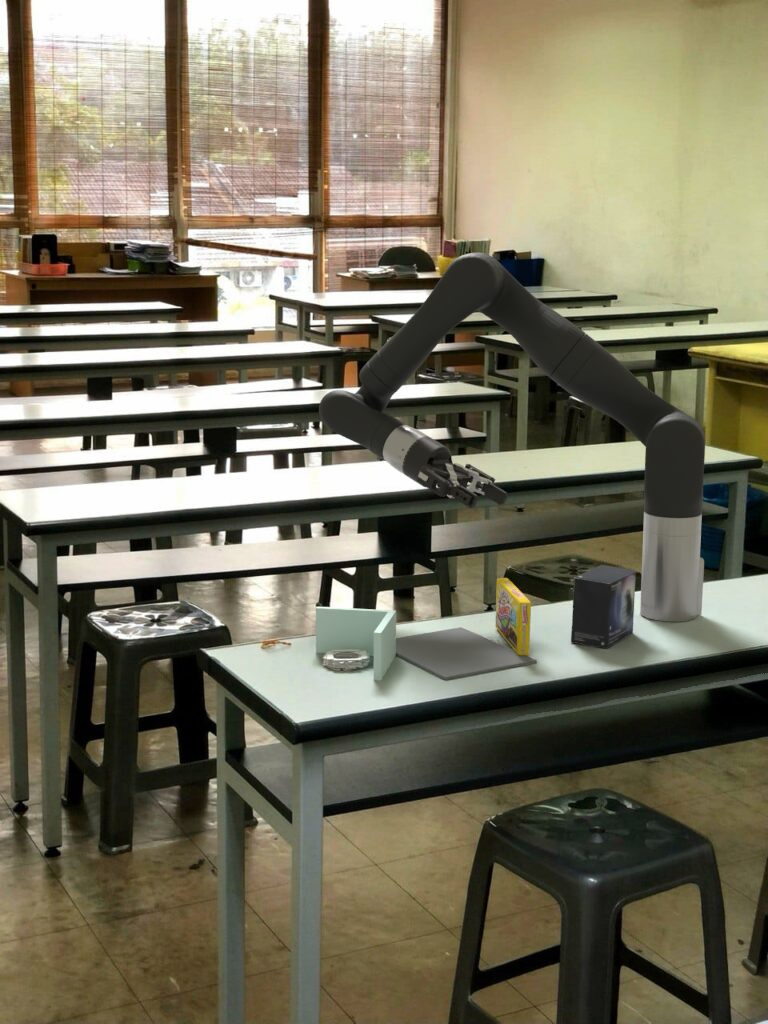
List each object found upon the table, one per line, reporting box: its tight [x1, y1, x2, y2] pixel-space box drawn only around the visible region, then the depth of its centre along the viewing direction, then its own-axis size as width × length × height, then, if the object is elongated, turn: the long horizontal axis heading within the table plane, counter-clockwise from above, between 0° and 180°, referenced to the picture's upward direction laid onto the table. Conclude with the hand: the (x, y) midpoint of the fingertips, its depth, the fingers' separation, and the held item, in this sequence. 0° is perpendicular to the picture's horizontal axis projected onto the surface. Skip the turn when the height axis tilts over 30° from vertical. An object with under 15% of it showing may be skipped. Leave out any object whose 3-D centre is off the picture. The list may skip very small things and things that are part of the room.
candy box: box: [495, 577, 532, 656], centre depth 203 cm, size 16×2×8 cm, turn 7°
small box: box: [570, 564, 637, 649], centre depth 206 cm, size 11×6×10 cm, turn 147°
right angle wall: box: [315, 606, 397, 681], centre depth 192 cm, size 12×12×8 cm
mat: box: [395, 627, 538, 681], centre depth 199 cm, size 16×20×1 cm
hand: (490, 501), depth 211 cm, fingers open, 8 cm apart
